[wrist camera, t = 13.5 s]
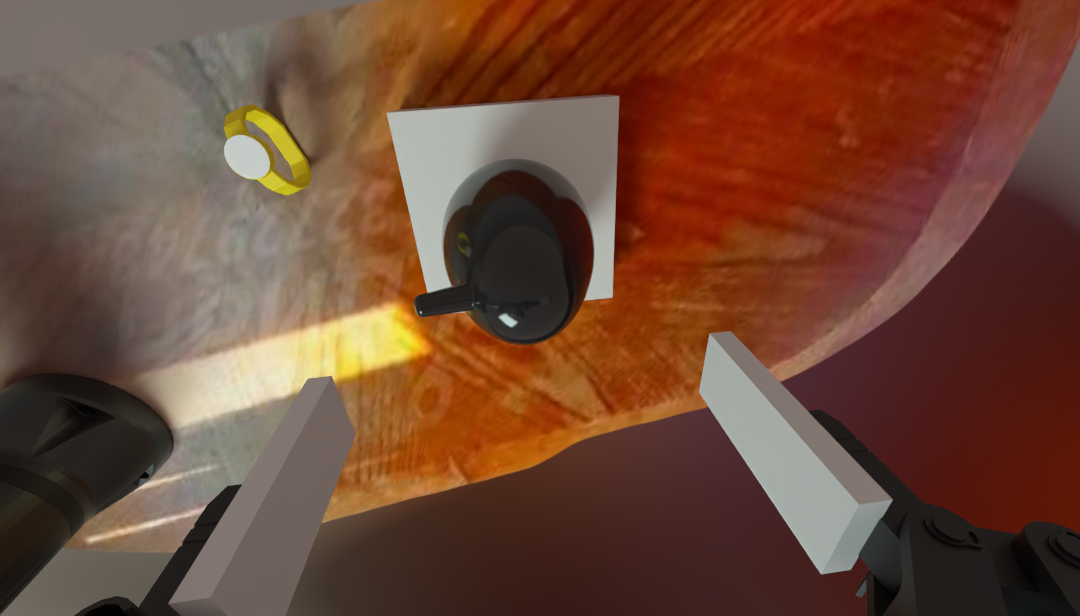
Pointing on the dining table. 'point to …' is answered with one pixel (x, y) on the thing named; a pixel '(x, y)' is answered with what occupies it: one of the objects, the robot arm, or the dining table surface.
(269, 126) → the watch
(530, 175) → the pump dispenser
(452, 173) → the ceramic base
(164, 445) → the robot arm
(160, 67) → the dining table surface
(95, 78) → the dining table surface
